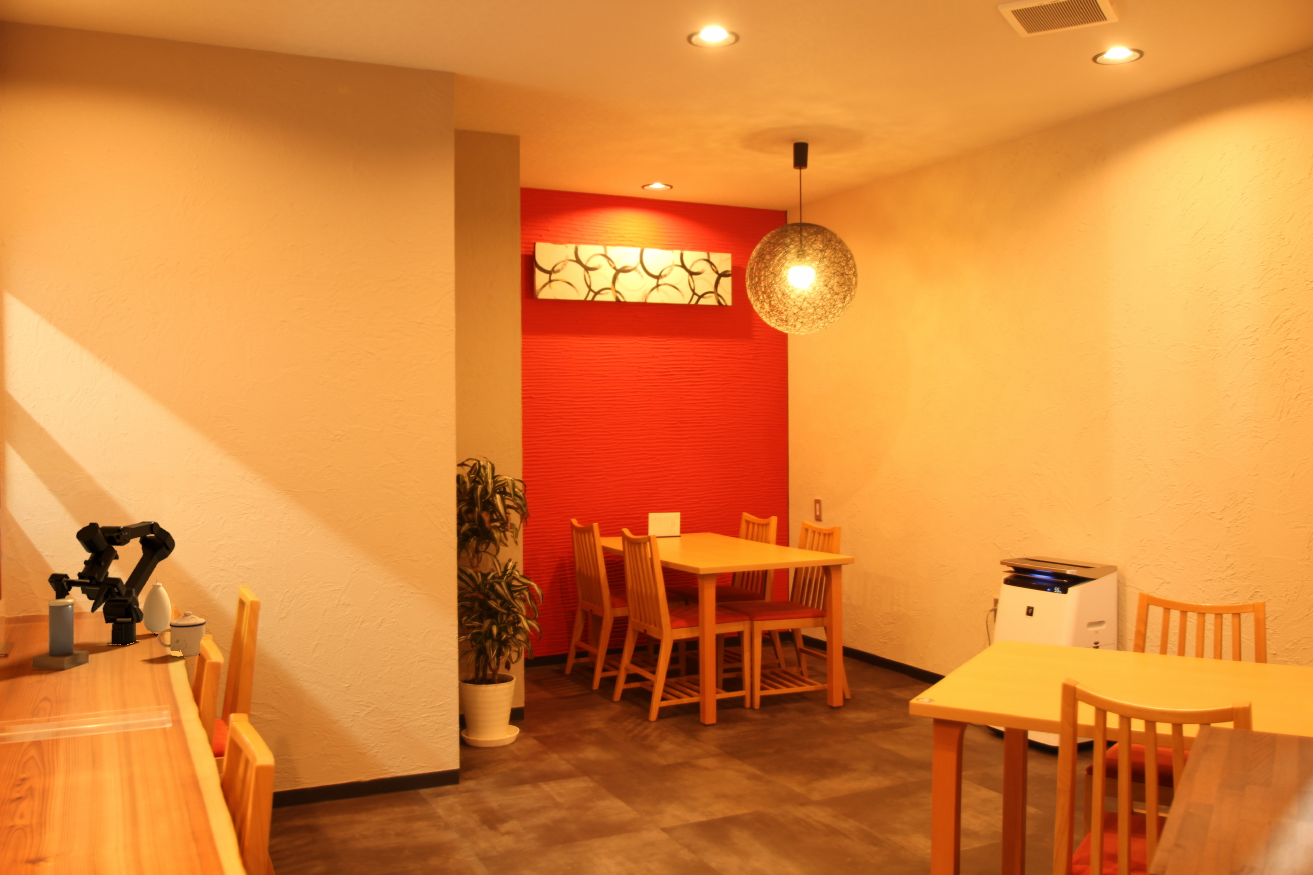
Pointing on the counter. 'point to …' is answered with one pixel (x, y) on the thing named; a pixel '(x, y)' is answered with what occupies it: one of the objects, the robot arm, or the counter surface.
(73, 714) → the counter surface
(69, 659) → the stand
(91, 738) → the counter surface
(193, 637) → the teacup with lid
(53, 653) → the canister
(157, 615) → the sauce bottle
